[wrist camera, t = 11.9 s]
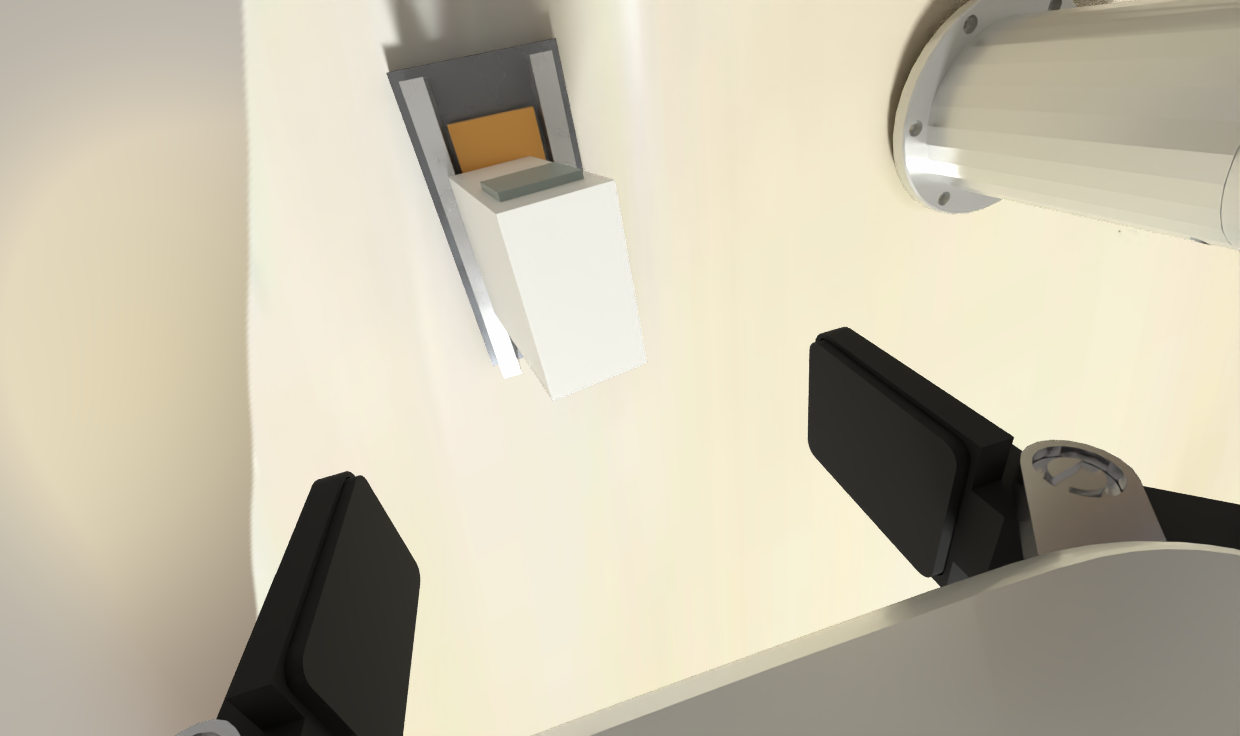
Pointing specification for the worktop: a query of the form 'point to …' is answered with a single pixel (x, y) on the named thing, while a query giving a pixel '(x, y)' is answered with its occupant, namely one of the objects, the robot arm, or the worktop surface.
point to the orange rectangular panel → (496, 139)
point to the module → (555, 268)
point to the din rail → (474, 93)
